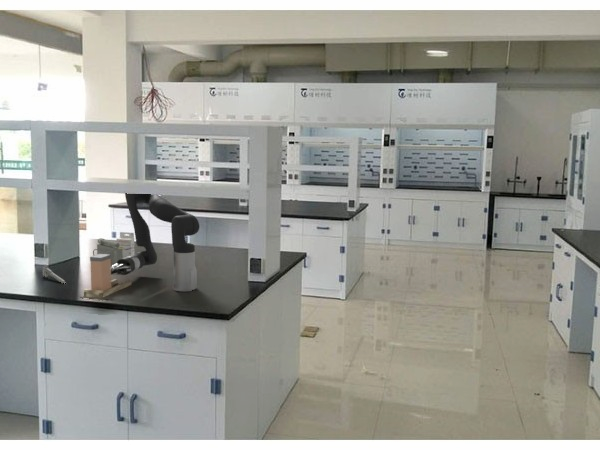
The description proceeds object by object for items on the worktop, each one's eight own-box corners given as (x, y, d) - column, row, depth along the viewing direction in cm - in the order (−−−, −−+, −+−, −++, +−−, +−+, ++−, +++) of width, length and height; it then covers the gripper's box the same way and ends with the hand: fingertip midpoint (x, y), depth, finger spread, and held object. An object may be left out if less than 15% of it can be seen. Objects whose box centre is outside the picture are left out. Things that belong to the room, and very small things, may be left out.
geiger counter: (124, 242, 303) (98, 236, 320) (113, 243, 298) (87, 237, 315) (125, 269, 305) (99, 261, 321) (113, 271, 300) (88, 263, 317)
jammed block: (111, 291, 257) (110, 254, 255) (102, 295, 250) (101, 257, 248) (100, 290, 258) (99, 253, 256) (91, 294, 251) (90, 256, 249)
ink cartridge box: (116, 260, 327) (115, 233, 325) (119, 258, 332) (119, 231, 330) (131, 260, 326) (131, 233, 324) (135, 258, 331) (134, 232, 329)
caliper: (42, 277, 286) (42, 264, 285) (45, 276, 287) (44, 264, 286) (64, 284, 273) (63, 271, 272) (66, 284, 274) (66, 270, 273)
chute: (135, 287, 270) (135, 278, 269) (105, 301, 247) (105, 291, 246) (111, 285, 272) (111, 276, 272) (79, 298, 249) (79, 289, 249)
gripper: (114, 255, 275) (93, 263, 258) (141, 257, 272) (120, 265, 255) (115, 271, 276) (93, 280, 259) (141, 274, 273) (121, 282, 256)
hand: (107, 272), depth 257 cm, fingers closed
